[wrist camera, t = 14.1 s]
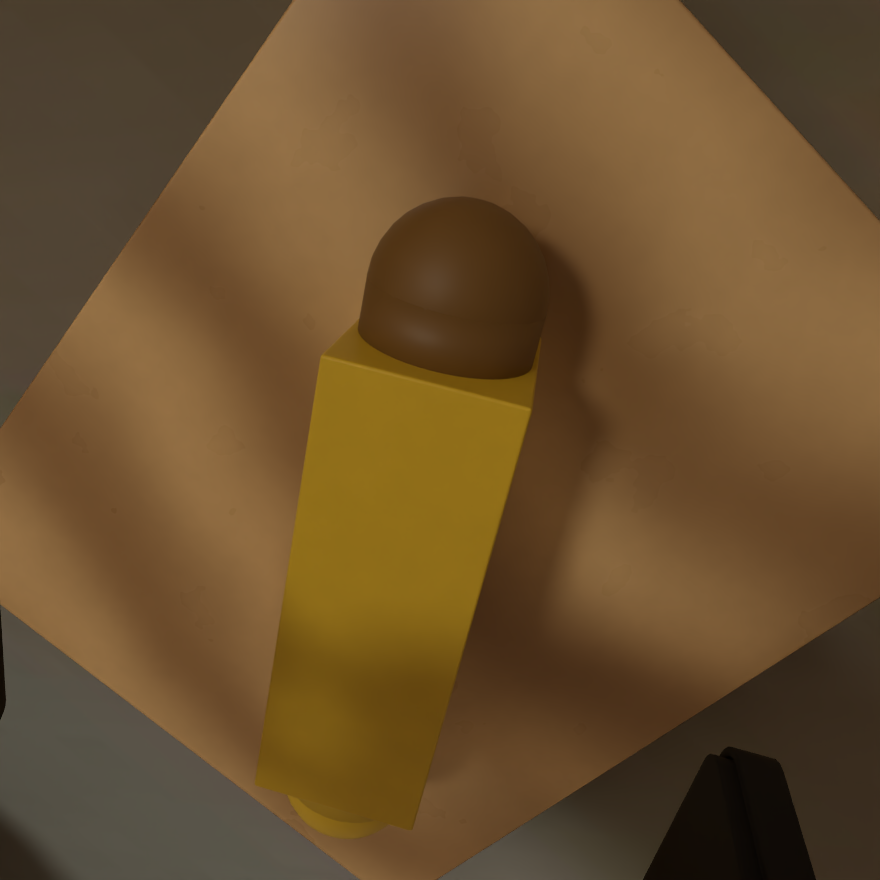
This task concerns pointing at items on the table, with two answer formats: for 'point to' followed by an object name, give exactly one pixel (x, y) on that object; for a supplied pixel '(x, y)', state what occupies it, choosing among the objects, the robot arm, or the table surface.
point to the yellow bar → (401, 512)
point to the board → (554, 408)
